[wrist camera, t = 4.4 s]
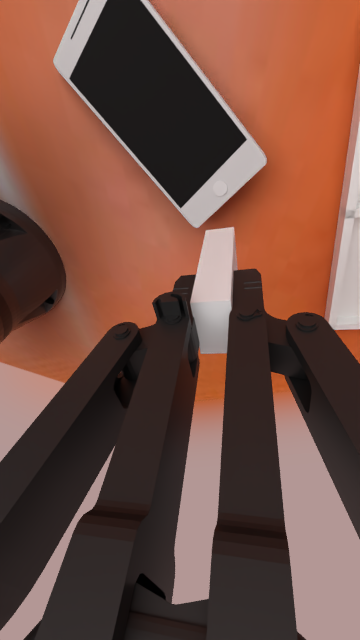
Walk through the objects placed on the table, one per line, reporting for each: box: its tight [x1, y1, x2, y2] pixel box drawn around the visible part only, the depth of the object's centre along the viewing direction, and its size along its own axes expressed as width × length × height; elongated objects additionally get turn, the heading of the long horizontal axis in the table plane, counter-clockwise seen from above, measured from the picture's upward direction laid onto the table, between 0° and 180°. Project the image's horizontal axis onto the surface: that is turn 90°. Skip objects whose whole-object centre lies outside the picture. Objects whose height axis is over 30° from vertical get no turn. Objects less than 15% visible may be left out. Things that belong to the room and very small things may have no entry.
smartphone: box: [53, 0, 267, 228], centre depth 21 cm, size 7×15×1 cm, turn 47°
